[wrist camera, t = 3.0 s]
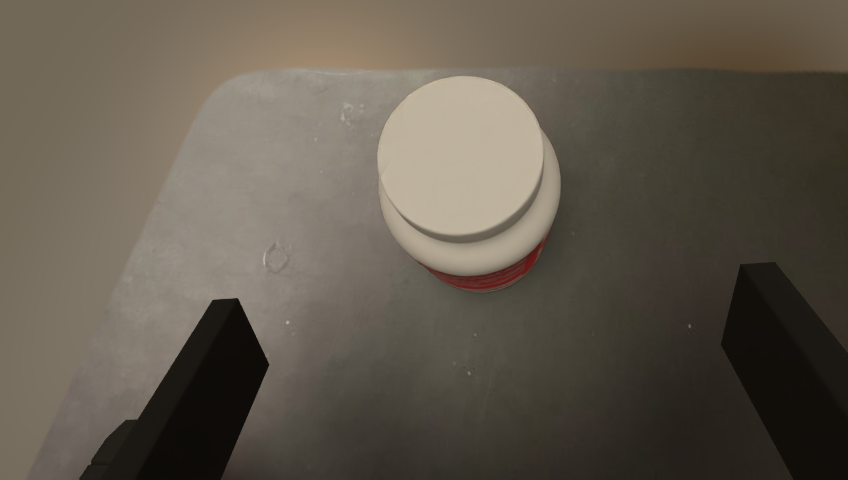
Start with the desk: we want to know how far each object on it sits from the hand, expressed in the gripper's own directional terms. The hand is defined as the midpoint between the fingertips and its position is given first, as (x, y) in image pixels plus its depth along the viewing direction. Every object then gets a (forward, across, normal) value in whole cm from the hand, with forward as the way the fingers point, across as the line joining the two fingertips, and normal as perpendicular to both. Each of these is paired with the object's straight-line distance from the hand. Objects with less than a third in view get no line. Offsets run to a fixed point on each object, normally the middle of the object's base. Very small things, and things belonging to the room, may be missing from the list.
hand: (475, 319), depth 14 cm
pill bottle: (+11, 0, -4) cm, 11 cm away
